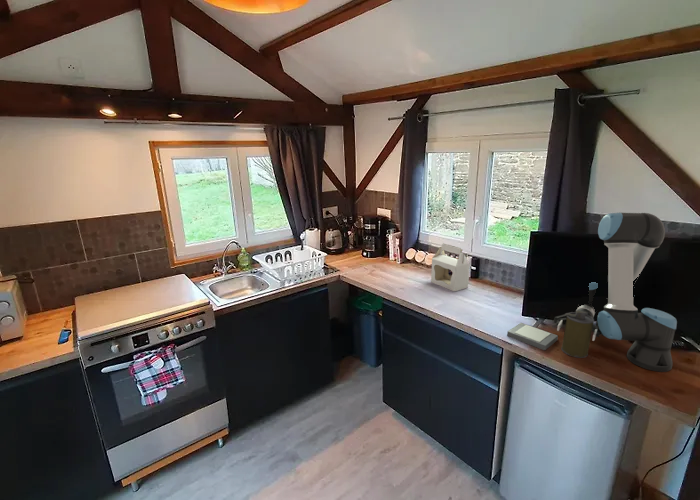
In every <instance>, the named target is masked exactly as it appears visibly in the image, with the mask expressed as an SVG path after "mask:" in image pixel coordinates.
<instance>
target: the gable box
mask: <svg viewBox="0 0 700 500" xmlns="http://www.w3.org/2000/svg"><path fill="white" fill-rule="evenodd" d="M445 252H449V253H453V254H455V255H458V258H455V257H452V256H450V255H447V254H446V253H445ZM470 264H471V262H469V260H468V258H467V256H466V254H465V253H464V252H463V249H462V248H461V247H458V246H454V245H451V244H446V243H444V242H442V243H441V246H439V247H438V249H437V250H436V252H435V254H434V255H433V256H432V258H431V273H430V275H431V276H430V283H432V284H435V285H437V286H440V287H442V288H445V289H446V290H447V289H448V290H449V291H452V292H457V291H460V290H464V289H467V288H469V282H470V281H469V280H470V279H469V277H470V267H471V266H470ZM450 271H451V272H452V275H449V272H450Z"/></svg>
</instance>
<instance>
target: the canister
mask: <svg viewBox="0 0 700 500" xmlns="http://www.w3.org/2000/svg"><path fill="white" fill-rule="evenodd" d="M576 310H577V309H576ZM564 314H565V315H566V316H567V318H566V324H564V325H565V326H563V328H562V329H564V330H563V332H562V333H561V335H563V339H562V345H561V351H562V352H563V354H565V355H567V356H570V357H572V358H573V357H574V358H579V359H583V358H587V357H588V356H589V347H590V342H591V337H592V332H593V331H592V326H593V322H595V318H594V317H593V318H592V317H591V316H589V315H588V313H586V312H585V311H581V310H577V312H576V311H574V312H573V311H571V312H566V313H564ZM564 321H565V320H564Z"/></svg>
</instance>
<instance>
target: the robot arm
mask: <svg viewBox="0 0 700 500" xmlns="http://www.w3.org/2000/svg"><path fill="white" fill-rule="evenodd" d="M597 234H598V238H599V239H600V240H602V241H603V243H604V244H603V245H604V246H606V247H607V248H608V252H607V253H608V256H607V257H608V262H607V263H608V264H607V265H608V266H607V267H608V268H607V269H608V275H607V282H608V298H607V304H605V305H604V306H603V310H601V311H599V312H598V315H597V316H596V317H597V318H596V319H597V320H596V321H595V320H594V322H593V326H592V332H593V335H592V340H591V341H593V342H595V340H596V337H597V338H599V337H600V336H602V337H603V336H604V337H605V338H607V339H609V340H616V341H634V342H633V343H632V345H631V346H630V347H629V349H628V350H627V353H626V358H627V360H629V361H630V363H632V364H634V365H635V366H638V367H640V368H642V369H645V370H648V371H654V372H661V373H666V372H669V371H672V368H673V358H672V353H671V348H672V344H673V341H674V337H675V332H676V330H677V326H678V325H677V324H678V321H677V318H676V317H674V316H673V315H672V314H671V313H668V312H665V311H663V310H660V309H655V308H653V307H652V308H650V307H644V308H642V309H641V310H640V311H641V312H639V310H638V308H637V307H636V306H635V305H634V297H633V286H634V285H633V281H634V280H635V279H636V278H637V277H638V278H639V276H640V275H641V272H642V271H643V269H644V268H645V266H646V264H647V263H648V261H649V259H650V258H651V256H652V254H653V253H654V251H655V249H658V248H660V246H661V245H662V243H663V242H664V239H665V236H666V229H665V225H664V223H663V222H662V220H661V219H660V218H659V217H658V216H656V215H655V214H653V213H648V212H609V213H607V214H606V215H604V216H602V218H601V220H600V222H599V224H598V229H597ZM639 274H640V275H639ZM638 278H637V279H638ZM588 287H589V291H588V292H589V294H588V295H589V301H588V303H589V304H584V305H581V306H579V305H578V306H579V307H578V306H577V309H576V310H575V312H577V310H581V311H585V312H586V313H588V315H589V316H591V317H592V318H593V319H594V317H595V314H596V312H595V309H594V307H593V306H592V303H593V302H592V301H593V298H594V297H593V296H594V295H595V293H596V289H597V288H598V283H596V282H591V283H589V286H588ZM590 304H591V305H590ZM565 314H566V313H564V314H561V315H557V316H554V317H553V318H554V319H553V323H555V324H556V325H555V326H556V327H557V328H556V331H557V332H559V331H561V327H562V326H563V325H566V318H567V316H566V315H565ZM564 320H565V321H564Z"/></svg>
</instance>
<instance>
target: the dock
mask: <svg viewBox="0 0 700 500" xmlns="http://www.w3.org/2000/svg"><path fill="white" fill-rule="evenodd" d="M506 336H507V337H509V338H512V339H514V340H517V341H519V342H523V343H524V344H526V345H530V346H532V347H534V348H537V349H540V350H543V351H546V350H547V349H549V348H550V347H551V346H553V344H555V343H556V342H557V341H558V339H559V338H558V337H559V335H557V334H554V333H552V332H548V331H546V330H544V329H541V328H537V327H535V326H531V325H529V324H526V323H524V322H520V323H519V324H518V323H517V324H516V325H515V326H514V327H512V328H511V329H509V330H507V334H506Z"/></svg>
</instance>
